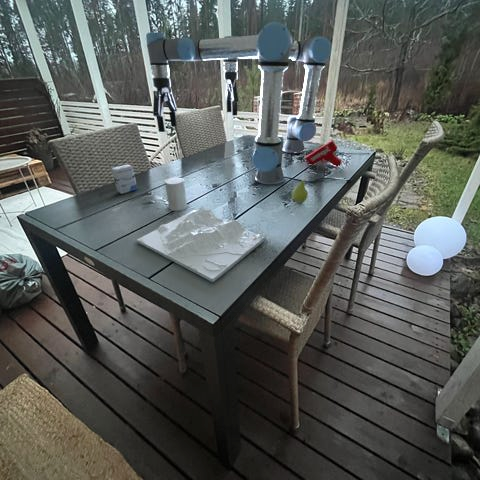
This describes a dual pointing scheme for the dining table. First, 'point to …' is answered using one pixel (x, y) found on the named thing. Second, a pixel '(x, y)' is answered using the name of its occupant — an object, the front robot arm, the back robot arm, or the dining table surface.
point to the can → (176, 194)
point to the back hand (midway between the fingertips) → (231, 113)
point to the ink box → (124, 178)
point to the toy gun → (324, 155)
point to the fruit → (300, 192)
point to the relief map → (202, 243)
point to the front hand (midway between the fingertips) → (168, 129)
